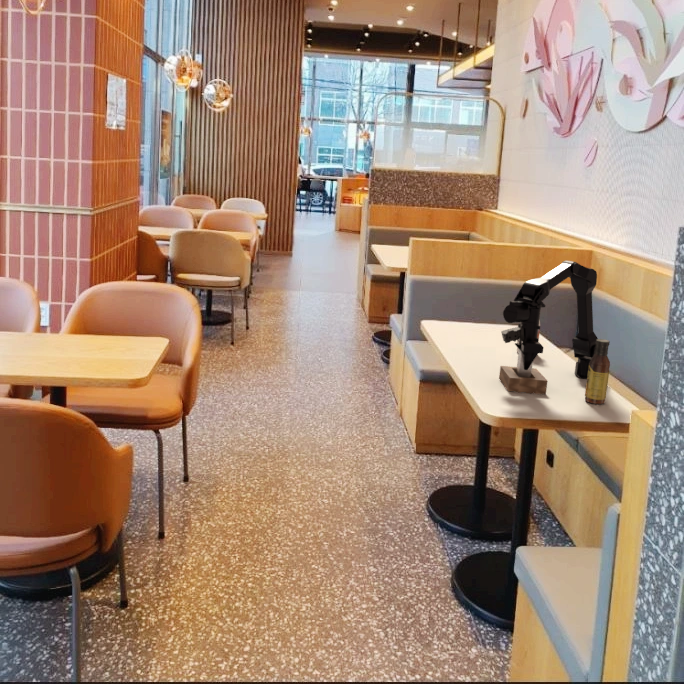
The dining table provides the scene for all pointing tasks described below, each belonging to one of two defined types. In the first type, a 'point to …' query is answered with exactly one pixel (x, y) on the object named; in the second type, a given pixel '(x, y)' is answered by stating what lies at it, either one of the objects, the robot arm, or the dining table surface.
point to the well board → (523, 381)
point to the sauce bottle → (598, 374)
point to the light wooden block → (522, 367)
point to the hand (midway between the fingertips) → (524, 368)
